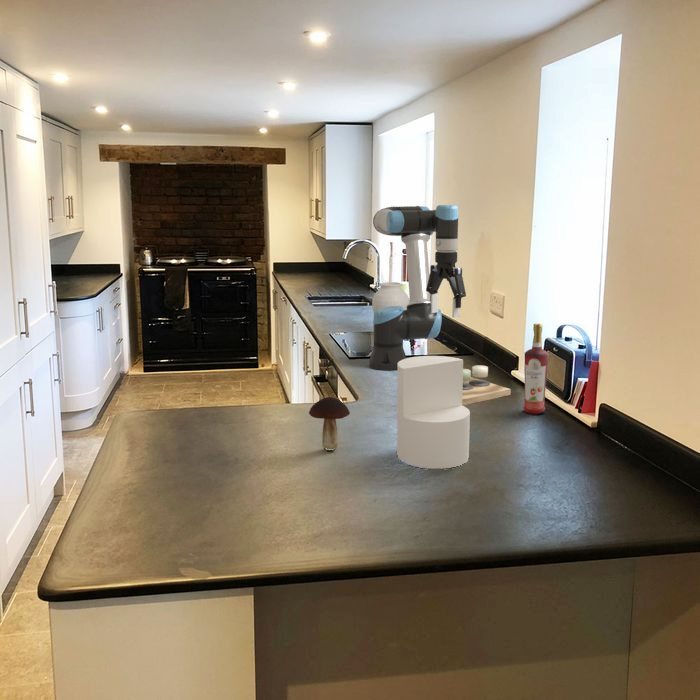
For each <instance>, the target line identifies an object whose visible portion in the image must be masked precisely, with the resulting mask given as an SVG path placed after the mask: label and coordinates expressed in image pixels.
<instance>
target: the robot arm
mask: <svg viewBox="0 0 700 700" xmlns="http://www.w3.org/2000/svg"><path fill="white" fill-rule="evenodd" d="M459 216H460V214H459V207H458V205H456V204H438V205H437V206H436V208H435V209H430V208H429V207H428V206H420V205H415V206H414V205H413V206H412V205H411V206H408V205H407V206H387V207H384V208H382V209H379V210H378V211H376V212H375V214H374V216H373V218H372V224H373V225H372V226H373V227H374V230H376V231H377V232H379V233H380V234H382V235H385V236H392V237H400V238H401V239H400V240H401V243H403V244H405V254H406V267H407V268H406V269H407V278H408V279H407V280H408V281H407V282H408V294H409V296H408V297H409V302H410V303H409V304H408V305H407V310H404V309H403V307H401V306H391V307H385V308H381V309H378V310H376V311H375V313H373V321H372V323H373V346H372V347H373V348H372V350H371V354H370V358H369V360H368V361H369V362H368V364H369V365H368V366H369V367H370V368H372V369H374V370H381V371H395V370H397V371H398V362H399V361H401V360H403V359H406V358H407V356H406V352H405V349H404V340H422V339H423V340H427V339H428V340H429V339H436V338H437V337H438V336H439V334H440V331H441V328H442V327H441V326H442V319H443V317H442V316H443V315H442V314H443V313H442V311H441V309H439V293H438V291H439V288H440V286H441V285H442V282H443V280H444V279H446V281H447V282H448V284H449V286H450V287H449V288H450V289H451V292H452V294H453V298H452V318H453V319H455V318H460V317H461V307H462V298H465V297H467V294H466V293H467V292H466V289H465V283H464V278H463V268H462V267H456V263H457V262H458V252H457V251H458V248H459V247H458V246H459V218H460V217H459ZM434 233H435V253H434V261H435V263H436V264H429V255H428V254H429V253H428V242H429V241H430V239H431V236H432V235H433V234H434ZM429 265H430V266H429Z"/></svg>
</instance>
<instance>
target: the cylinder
mask: <svg viewBox="0 0 700 700" xmlns="http://www.w3.org/2000/svg"><path fill="white" fill-rule="evenodd" d="M463 369H464V359H461V358H458V357H454V356H453V357H452V356H445V355H422V356H421V355H420V356H412V357H411V356H410V357H406V359H403V360H401V361H399V362H398V370H397V382H396V383H397V385H396V387H397V389H396V390H397V393H396V395H397V397H396V398H397V399H396V400H397V401H396V403H397V405H396V406H397V408H396V409H397V411H396V413H397V414H396V416H397V417H396V419H397V420H396V421H397V422H396V423H397V424H396V426H397V427H396V428H397V430H396V433H397V434H396V435H397V436H396V455H398V457H399V458H400V459H401V460H403V461H405V462H407V463H410V464H412V465H415V466H419V467H425V468H426V467H427V468H441V469H442V468H451V467H456V466H459V467H461V466H463V465H462V464H464V463H465V464H467V462H469V459H468V458H470V451H469V450H470V431H471V430H470V429H471V428H470V426H471V425H470V424H471V423H470V421H471V412H470V409H469V408H467V407H466V406H465V405H463V406H462V391H463ZM465 464H464V465H465ZM460 465H461V466H460ZM456 468H457V467H456Z"/></svg>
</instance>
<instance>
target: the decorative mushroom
mask: <svg viewBox="0 0 700 700" xmlns="http://www.w3.org/2000/svg"><path fill="white" fill-rule="evenodd" d="M308 414H309V416H311V417H312V418H314V419H323V425H322V435H321V436H322V437H321V438H322V439H321V440H322V447H324V448H327V449H334V448H336V449H337V448H338V445H339V437H338V436H339V435H338V427H337V420H338V419H339V420H340V419H344V418H346V417H348V416H349V415H350V414H351V412H350V410H349V408H348V407H347V405H346V404H345V403H344V402H343V401H341V399H338V398H336V397H334V396H327V397H324V398H321V399H319V400H318V401H316V402H315V403H314V404H313V405H311V407H310V409H309V411H308ZM324 448H323V449H324Z"/></svg>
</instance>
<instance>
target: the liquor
mask: <svg viewBox="0 0 700 700" xmlns="http://www.w3.org/2000/svg"><path fill="white" fill-rule="evenodd" d="M543 327H544V326H543V323H533V329H532V330H533V339H532V347H531V348H530V349H528V350H526V351H525V352H524V365H523V366H524V368H523V369H524V402H523V403H524V405H523V406H522V409H524V411H525V412H526V413H527V414H530V415H539V414H542V413H543V412H545V410H546V406H545V398H546V389H547V388H546V386H547V379H548V372H549V371H548V368H549V357H550V353H549V352H548V351H546V350H545V349H543V340H542V339H543V338H542V335H543Z"/></svg>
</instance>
